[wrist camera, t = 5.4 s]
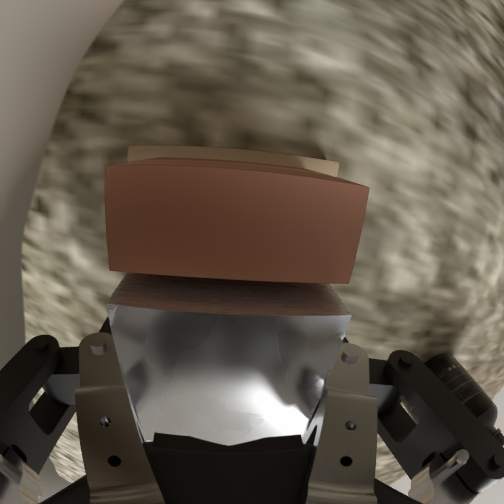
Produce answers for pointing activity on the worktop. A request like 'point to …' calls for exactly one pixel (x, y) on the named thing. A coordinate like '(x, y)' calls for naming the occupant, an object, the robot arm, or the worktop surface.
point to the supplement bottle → (462, 393)
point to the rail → (232, 215)
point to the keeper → (225, 353)
